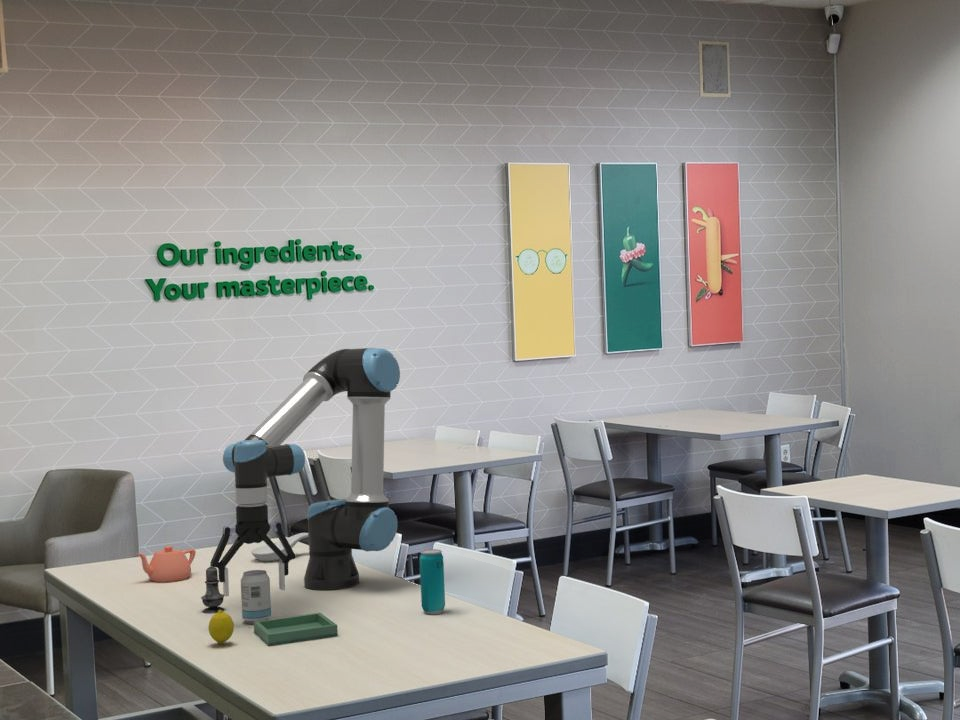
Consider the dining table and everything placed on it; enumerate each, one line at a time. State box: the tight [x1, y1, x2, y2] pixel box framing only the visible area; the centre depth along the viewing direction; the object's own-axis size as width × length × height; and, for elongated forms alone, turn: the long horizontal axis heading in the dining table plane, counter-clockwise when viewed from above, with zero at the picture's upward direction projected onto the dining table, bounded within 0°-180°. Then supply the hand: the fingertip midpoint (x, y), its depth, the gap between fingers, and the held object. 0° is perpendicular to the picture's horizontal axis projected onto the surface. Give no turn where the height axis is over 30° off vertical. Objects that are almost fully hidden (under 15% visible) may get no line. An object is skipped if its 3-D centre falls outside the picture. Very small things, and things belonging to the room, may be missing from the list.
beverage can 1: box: [240, 569, 272, 625], centre depth 286 cm, size 7×7×12 cm
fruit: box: [208, 609, 235, 646], centre depth 266 cm, size 6×6×8 cm
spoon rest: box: [250, 532, 308, 563], centre depth 369 cm, size 24×12×7 cm, turn 121°
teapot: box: [135, 545, 196, 583], centre depth 342 cm, size 12×18×10 cm
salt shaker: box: [200, 564, 226, 614], centre depth 300 cm, size 6×6×12 cm
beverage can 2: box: [419, 548, 446, 615], centre depth 288 cm, size 6×6×15 cm
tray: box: [253, 612, 339, 647], centre depth 273 cm, size 16×14×2 cm
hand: (254, 592), depth 286 cm, fingers open, 13 cm apart
